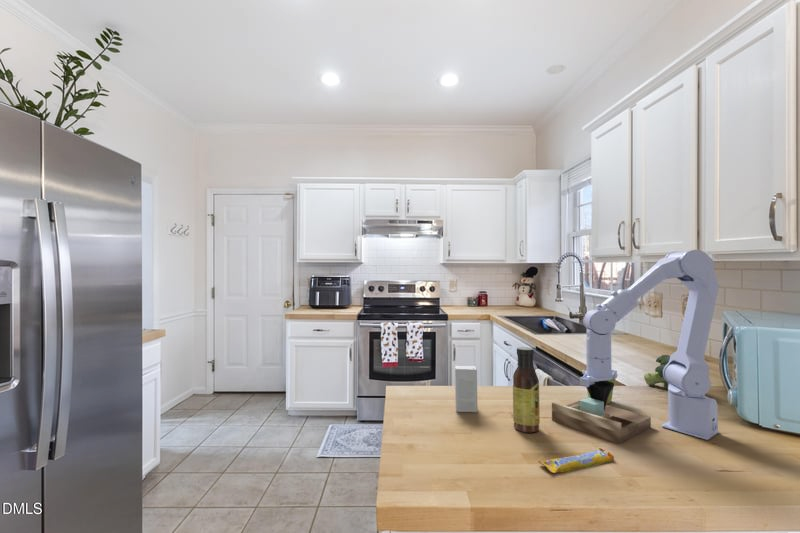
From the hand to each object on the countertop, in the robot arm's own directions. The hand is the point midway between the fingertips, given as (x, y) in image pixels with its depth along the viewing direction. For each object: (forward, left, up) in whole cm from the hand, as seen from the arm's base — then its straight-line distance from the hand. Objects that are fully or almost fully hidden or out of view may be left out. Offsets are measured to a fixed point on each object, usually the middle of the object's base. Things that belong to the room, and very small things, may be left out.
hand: (599, 410), depth 98 cm
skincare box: (+27, +21, -4) cm, 34 cm away
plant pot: (+9, -17, -4) cm, 20 cm away
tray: (0, 0, -3) cm, 4 cm away
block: (0, +3, -1) cm, 4 cm away
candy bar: (-8, +23, -4) cm, 25 cm away
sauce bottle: (+9, +18, -4) cm, 20 cm away
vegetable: (+2, -46, -4) cm, 47 cm away
